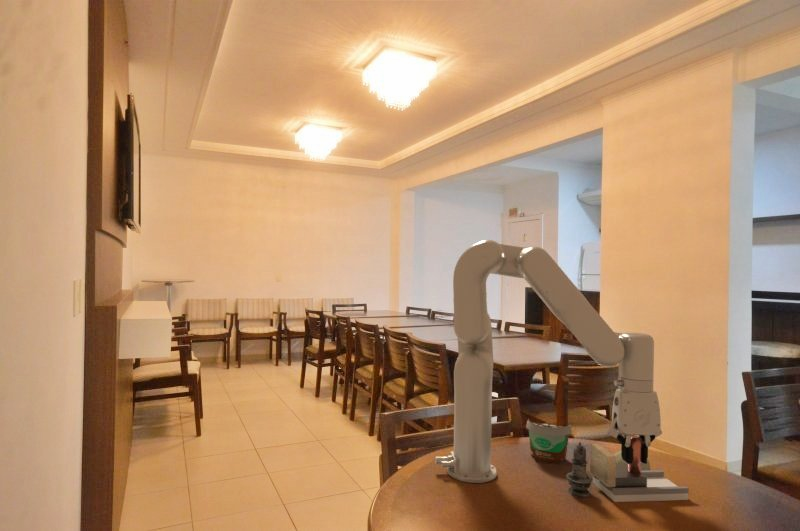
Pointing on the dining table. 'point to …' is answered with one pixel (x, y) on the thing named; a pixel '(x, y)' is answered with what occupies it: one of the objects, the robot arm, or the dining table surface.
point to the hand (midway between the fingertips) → (634, 460)
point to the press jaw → (618, 466)
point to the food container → (548, 442)
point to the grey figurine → (579, 474)
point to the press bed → (647, 489)
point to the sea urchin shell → (621, 462)
